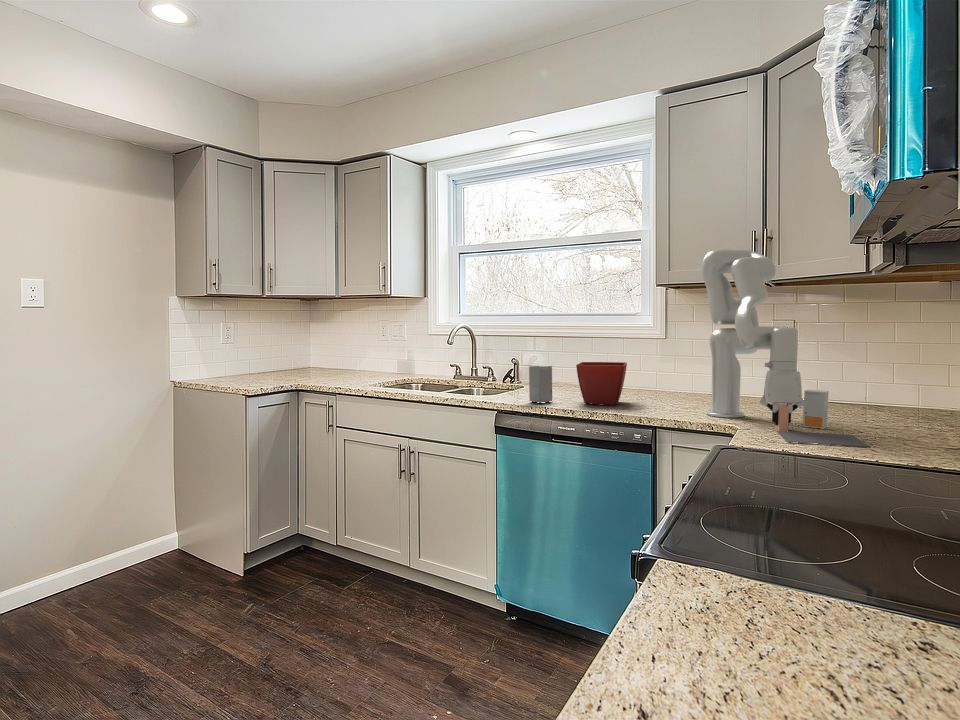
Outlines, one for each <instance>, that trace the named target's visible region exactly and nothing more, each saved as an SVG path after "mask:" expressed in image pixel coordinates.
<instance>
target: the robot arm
mask: <svg viewBox="0 0 960 720" xmlns="http://www.w3.org/2000/svg"><path fill="white" fill-rule="evenodd" d="M776 272H777V270H776V265H775V263H774V261H773V260H772V259H770V258H769V257H767V256H765V255H763V254H760V253H758V252H755V251H753V250H749V249H731V248H729V249H727V248H721V249H714V250H713V249H712V250H711V251H709V252H707V253H706V255H705V256H704V257H703V260H702V263H701V274H702V279H703V282H704V284H705V287H706V293H707V299H708V300H707V301H708V306H709V307H708V308H709V314H710V318H711V322H712V323H714V324H715V325H719V326H734V327H723V328H719V329H718V328H717V329H716V330H714V331H713V332H712V333H711V334H710V337H709V348H710V352H711V395H710V396H711V400H710V401H711V406H710V409H708V410H706V415H708V416H711V417H717V418H726V419H727V418H729V419H731V418H734V419H735V418H737V419H738V418H742V417H745V413H744V412H743V411H741V410H740V407H741V405H740V403H741V402H740V401H741V364H740V362H739V359H738V358H737V356H736V355H749V354H750V355H752V354H755V353H757V352H758V350H767V351H768V350H769V351H770V353H769V361H768V362H765V363H764V367H765V368H768V369H769V370H767V371H766V375H765V381H764V387H763V388H764V389H763V395H762V397H761V398H760V400H759V403H760V404H761V405H763V406H765V407H767V408H768V409H769V410H770V411H771V412H772V413H771V422H772V423H773V424H774V426H775V425H778V411H777V403H785V404H786V405H788V406H789V417H788V427H789V425H790V424H791V423H792V413H793V412H794V411H795V410H797V409H798V408H802V407H804V405H805V403H804V398H803V394H802V393H803V391H802V389H803V388H802V377H801V372H800V371H798V370H797V369H798V345H799V344H798V343H799V342H798V341H799V331H798V329H797V328H795V327H789V326H784V327H782V326H773V325H772V326H771V325H770V326H764V325H762V326H760V324H759V320H758V319H759V318H758V312H757V308H756V307H759V306H760V305H762V304H763V303H764V302H766V301H767V300H768V297H769V294H768V291H767V288H766V285H765V283H767V282H770V281H772V280H773V279H774V278H775V275H776ZM725 274H731V276H732V279H733V282H734V285H735V288H736V292H737V294H738V298H735V295H734V291H733V286H732V284H731V282H730V281H729V279H728V278H727V277H726V276H725Z"/></svg>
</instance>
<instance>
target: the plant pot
mask: <svg viewBox="0 0 960 720" xmlns="http://www.w3.org/2000/svg"><path fill="white" fill-rule="evenodd" d="M627 365H628V362H620V361H618V362H617V361H615V362H614V361H582V362H579V363H578V364H576V366H575V367H576V373H577V374H576V375H577V380H578V385H579V389H580V393H581V396H582V400H583V402H584V404H585V403H592V404H591V405H593V404H612V405H611V406H617V405H618V403H619V401H620V398H621V396H622V391H623V388H624V382H625V380H626V379H625V378H626V373H627V367H628V366H627ZM616 404H617V405H616Z"/></svg>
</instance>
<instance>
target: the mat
mask: <svg viewBox="0 0 960 720" xmlns="http://www.w3.org/2000/svg"><path fill="white" fill-rule="evenodd" d="M777 432H778V433H779V434H780V435H781V436H782V437H783V438H784V439H785V440H786V441H787V442H798V443H818V444H830V445H829V446H831V445H844V446H843V447H849V446H859V447H858V448H866V447H871V445H870V444H867V443H866V442H864V441H863V440H861V439H859V438H858V437H856V436H854V435H853V434H841V433H827V432H826V433H824V432H823V433H822V432H804V431H803V432H802V431H801V432H800V431H788V432H787V431H778V430H777V431H776V433H777ZM778 433H777V434H778ZM779 434H778V435H779ZM780 435H779V436H780ZM781 436H780V437H781ZM782 437H781V438H782ZM783 438H782V439H783ZM784 439H783V440H784ZM785 440H784V441H785ZM786 441H785V442H786ZM787 442H786V443H787Z"/></svg>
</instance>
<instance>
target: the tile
mask: <svg viewBox="0 0 960 720" xmlns="http://www.w3.org/2000/svg"><path fill="white" fill-rule="evenodd" d="M777 411H778V425H775V424H774V428H775V430H777V429H778V430H779V431H788V432H789V426H788V417H789V406H788V405H787V403H777ZM778 430H777V431H778Z"/></svg>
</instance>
